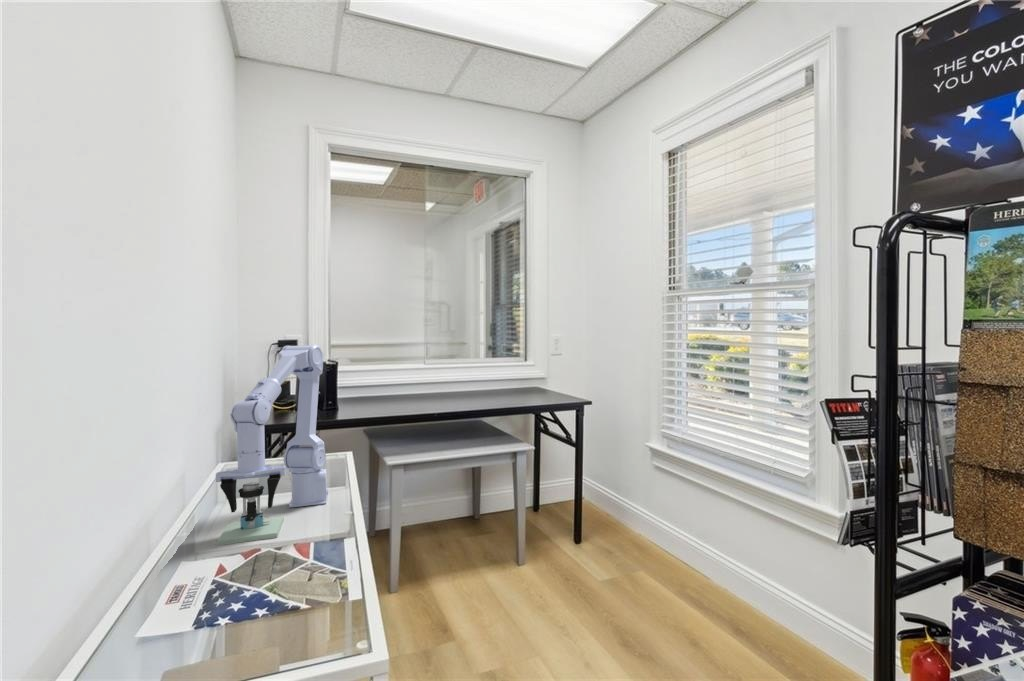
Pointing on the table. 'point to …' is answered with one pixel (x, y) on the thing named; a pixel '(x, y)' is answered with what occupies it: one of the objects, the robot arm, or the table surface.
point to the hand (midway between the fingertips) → (252, 508)
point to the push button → (251, 506)
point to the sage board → (251, 532)
